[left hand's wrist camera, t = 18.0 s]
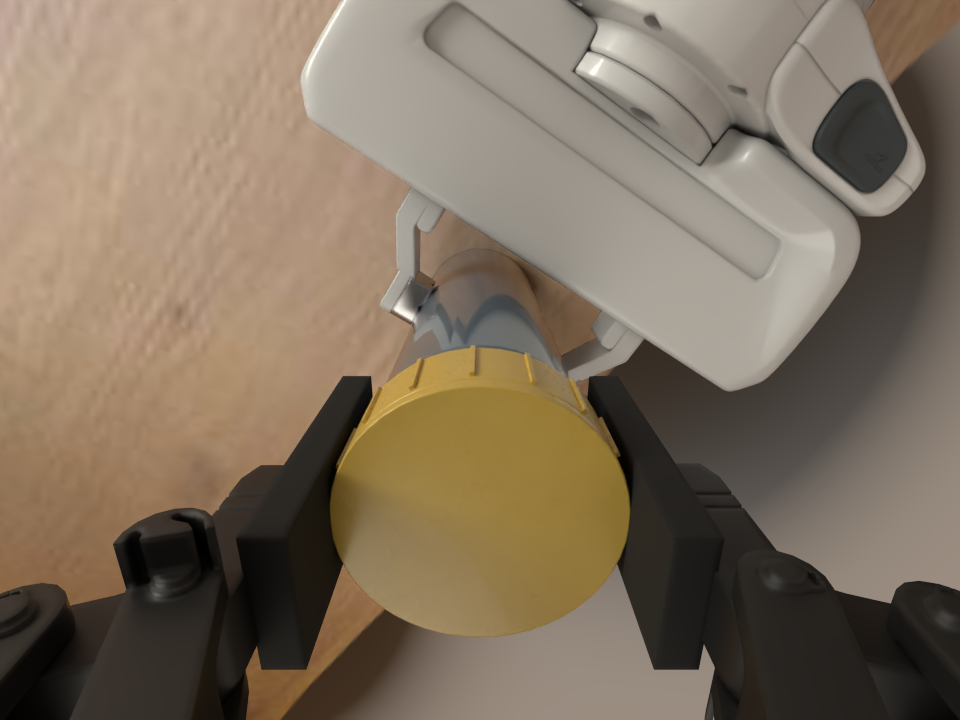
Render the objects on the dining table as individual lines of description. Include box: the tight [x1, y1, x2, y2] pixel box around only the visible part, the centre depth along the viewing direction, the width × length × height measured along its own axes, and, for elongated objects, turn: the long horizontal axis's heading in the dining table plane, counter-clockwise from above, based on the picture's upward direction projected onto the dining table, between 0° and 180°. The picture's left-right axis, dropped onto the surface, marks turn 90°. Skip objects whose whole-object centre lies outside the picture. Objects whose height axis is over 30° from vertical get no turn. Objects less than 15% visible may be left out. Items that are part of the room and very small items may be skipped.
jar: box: [386, 249, 571, 384], centre depth 19 cm, size 6×6×18 cm
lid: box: [329, 345, 631, 637], centre depth 11 cm, size 6×6×2 cm
